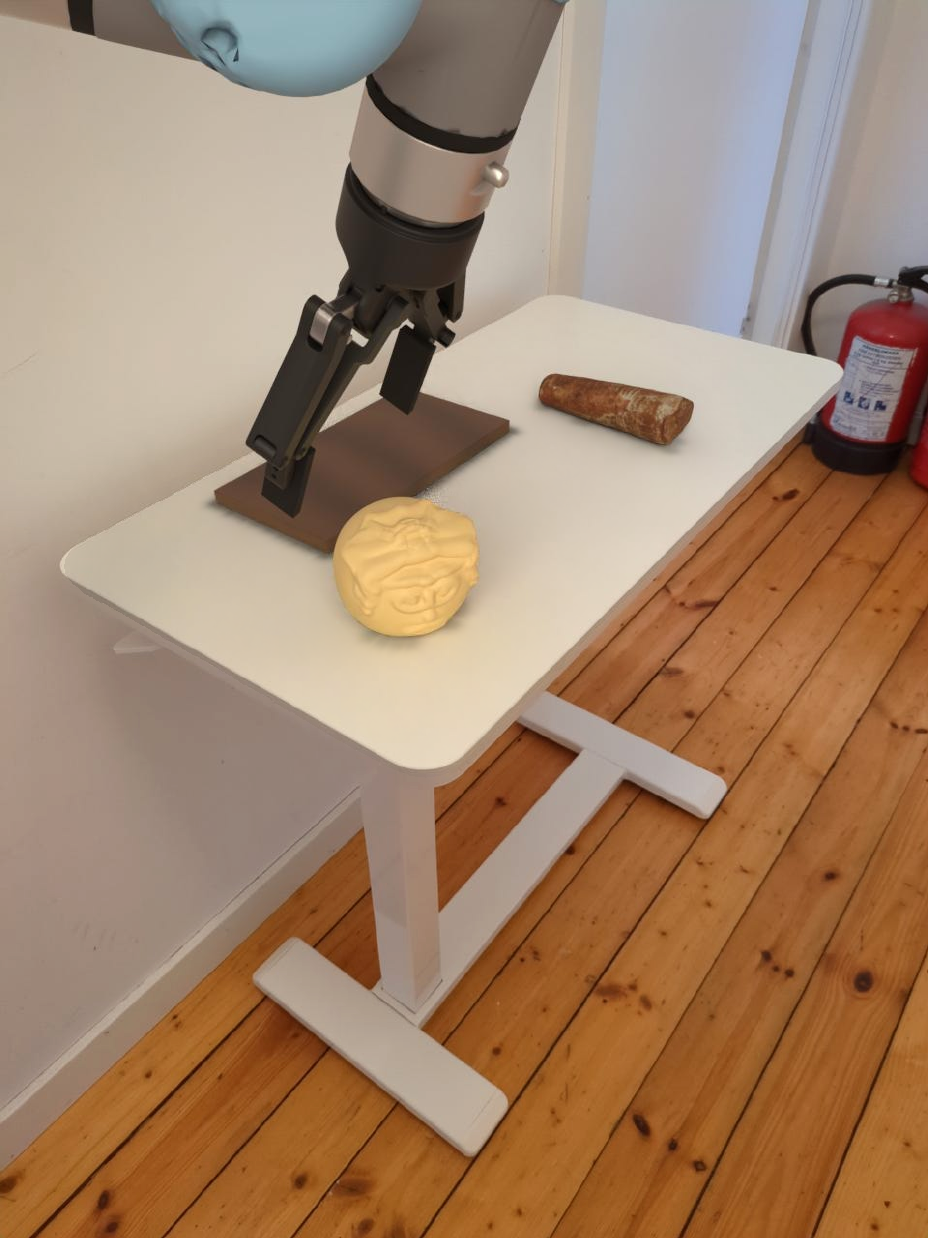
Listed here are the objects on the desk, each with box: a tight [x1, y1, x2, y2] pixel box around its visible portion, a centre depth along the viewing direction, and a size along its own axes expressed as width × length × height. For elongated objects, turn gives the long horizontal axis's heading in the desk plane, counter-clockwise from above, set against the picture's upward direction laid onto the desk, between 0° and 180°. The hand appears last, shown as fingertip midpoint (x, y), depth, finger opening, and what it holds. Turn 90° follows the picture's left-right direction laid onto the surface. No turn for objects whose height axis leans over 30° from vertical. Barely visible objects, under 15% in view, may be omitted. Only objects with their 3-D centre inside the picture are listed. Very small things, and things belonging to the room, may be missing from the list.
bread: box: [538, 373, 695, 445], centre depth 103 cm, size 6×19×6 cm, turn 49°
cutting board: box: [213, 391, 511, 554], centre depth 97 cm, size 30×16×2 cm, turn 143°
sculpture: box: [332, 497, 480, 637], centre depth 74 cm, size 12×12×11 cm
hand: (341, 450), depth 63 cm, fingers open, 13 cm apart
